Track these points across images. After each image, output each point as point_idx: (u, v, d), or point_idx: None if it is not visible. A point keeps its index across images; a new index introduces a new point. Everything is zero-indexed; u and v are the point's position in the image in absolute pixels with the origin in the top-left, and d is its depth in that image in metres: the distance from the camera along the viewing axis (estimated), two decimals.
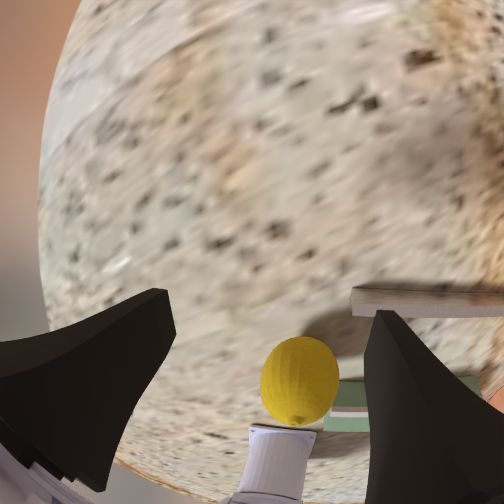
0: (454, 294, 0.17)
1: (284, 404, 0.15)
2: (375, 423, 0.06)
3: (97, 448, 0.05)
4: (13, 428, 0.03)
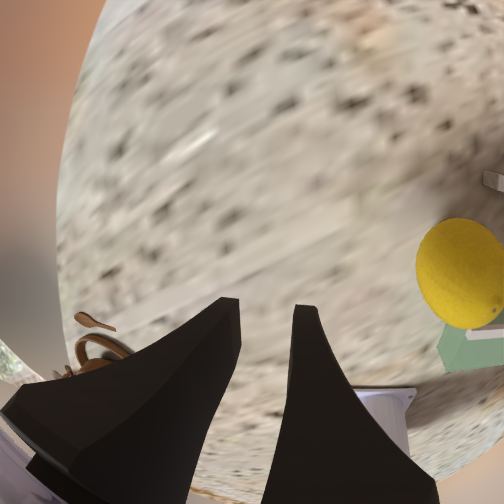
0: None
1: (484, 279, 0.09)
2: None
3: (179, 484, 0.05)
4: (106, 497, 0.02)
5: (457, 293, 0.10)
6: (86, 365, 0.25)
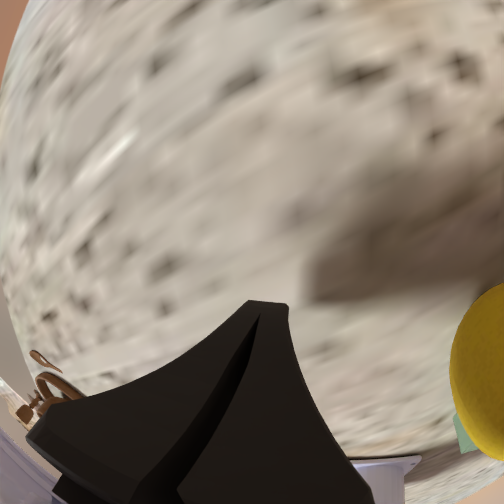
0: None
1: None
2: None
3: None
4: None
5: None
6: (45, 405, 0.19)
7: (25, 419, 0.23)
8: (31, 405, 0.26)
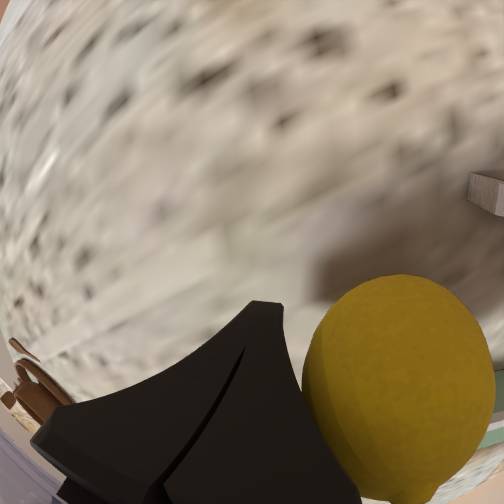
0: None
1: (403, 463, 0.03)
2: None
3: None
4: None
5: None
6: (21, 388, 0.20)
7: (8, 404, 0.24)
8: (14, 392, 0.27)
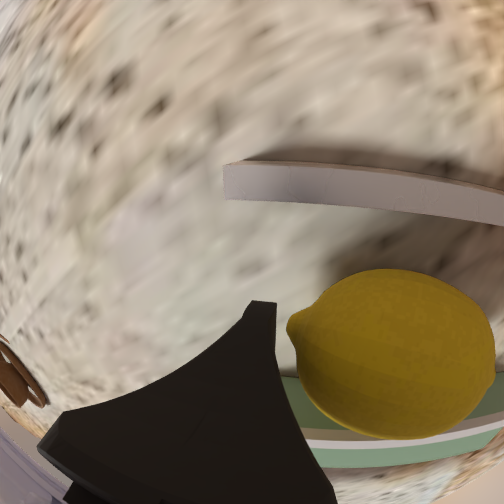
0: (471, 184, 0.07)
1: (494, 364, 0.05)
2: None
3: None
4: None
5: (471, 409, 0.05)
6: None
7: None
8: None
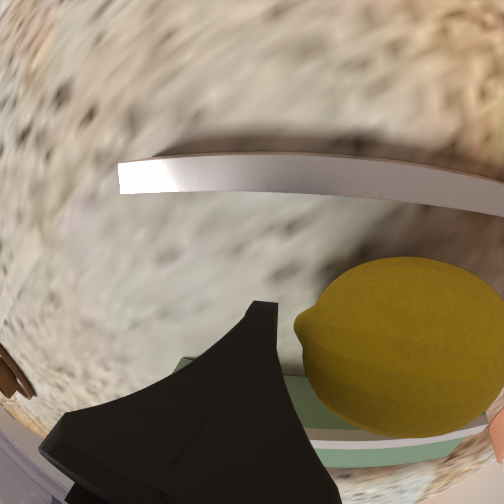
0: (388, 159, 0.08)
1: None
2: None
3: None
4: None
5: (489, 402, 0.04)
6: None
7: None
8: None
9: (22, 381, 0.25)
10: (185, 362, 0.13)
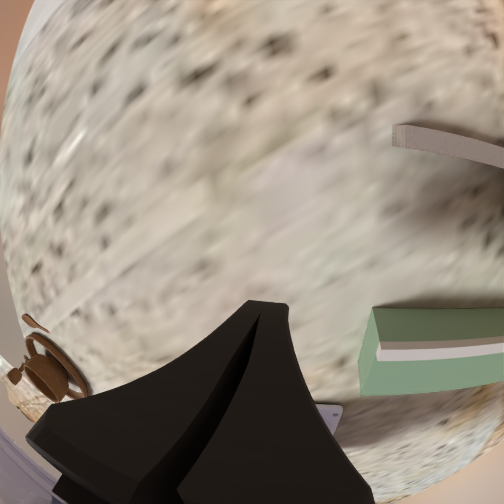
0: None
1: None
2: None
3: None
4: None
5: None
6: (30, 360, 0.25)
7: (14, 380, 0.29)
8: (20, 368, 0.32)
9: (79, 382, 0.27)
10: (378, 310, 0.15)
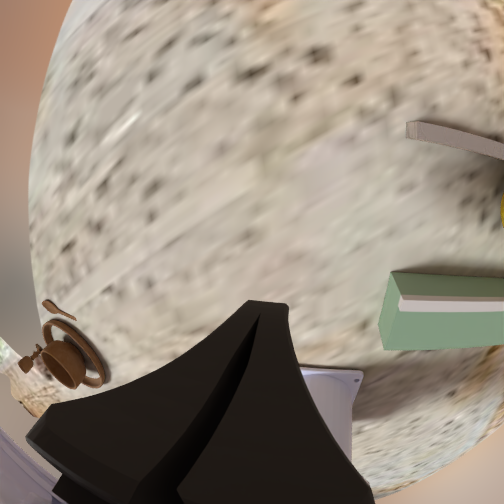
0: None
1: None
2: None
3: None
4: None
5: None
6: (49, 345, 0.28)
7: (26, 368, 0.32)
8: (32, 357, 0.34)
9: (98, 367, 0.29)
10: (396, 274, 0.17)
